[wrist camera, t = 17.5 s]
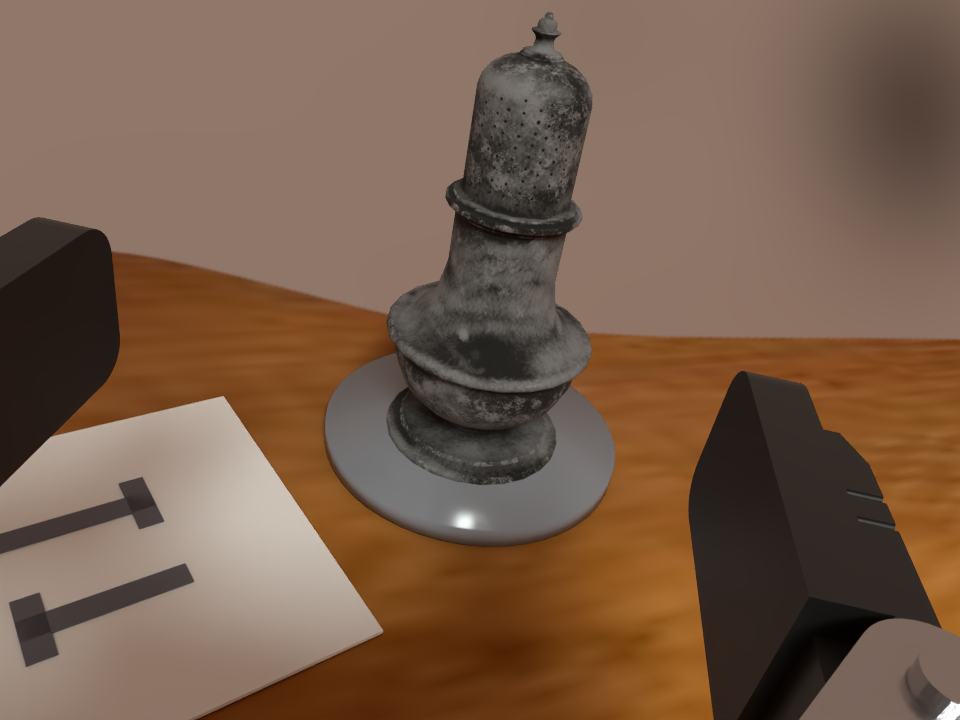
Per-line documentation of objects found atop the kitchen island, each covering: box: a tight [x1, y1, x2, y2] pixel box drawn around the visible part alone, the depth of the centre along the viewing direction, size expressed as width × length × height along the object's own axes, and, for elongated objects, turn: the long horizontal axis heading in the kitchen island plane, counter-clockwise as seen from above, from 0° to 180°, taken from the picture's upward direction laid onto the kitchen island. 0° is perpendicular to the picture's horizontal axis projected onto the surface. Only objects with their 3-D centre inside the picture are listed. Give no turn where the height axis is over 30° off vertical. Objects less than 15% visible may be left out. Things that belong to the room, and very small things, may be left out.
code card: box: [0, 396, 383, 720], centre depth 18 cm, size 10×10×1 cm
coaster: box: [325, 353, 615, 546], centre depth 24 cm, size 9×9×1 cm
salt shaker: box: [386, 12, 592, 485], centre depth 21 cm, size 6×6×12 cm
